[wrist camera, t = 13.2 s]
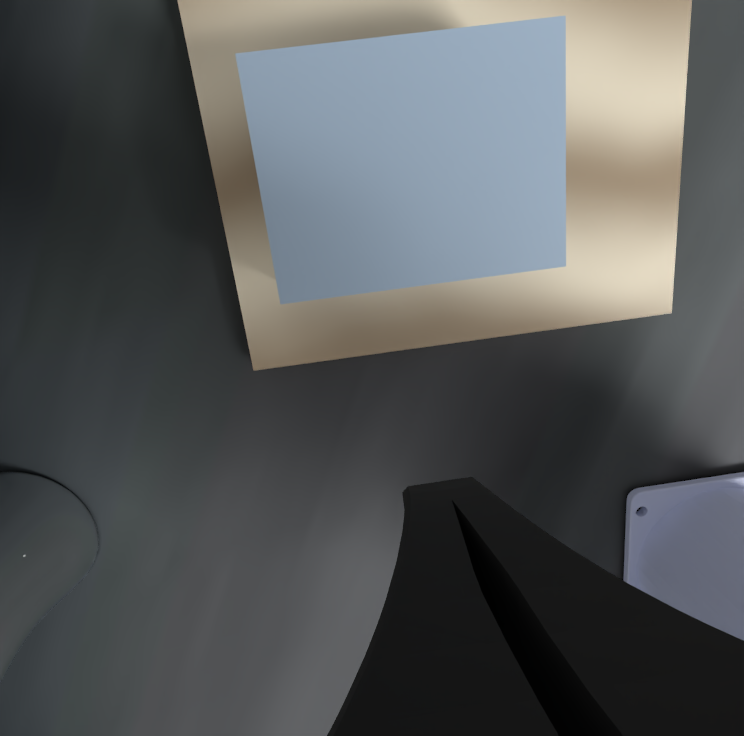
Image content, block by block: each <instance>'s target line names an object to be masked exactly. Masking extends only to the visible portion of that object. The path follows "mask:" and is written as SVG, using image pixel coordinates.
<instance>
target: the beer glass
mask: <svg viewBox="0 0 744 736" xmlns="http://www.w3.org/2000/svg"><path fill="white" fill-rule="evenodd" d="M98 545H99V540H98V532H97V528H96V525H95V522H94V520H93V518H92V516H91V514H90V513H89V511H88V510H87V508H86V507H85V506H84V504H83V503H82V502H81V501H80V500H79V499H78V498H77V497H76V496H75V495H74V494H73V493H71V492H70V491H69V490H67V489H66V488H64V487H63V486H61V485H59V484H57V483H56V482H53V481H51V480H49V479H47V478H44V477H41V476H38V475H34V474H29V473H24V472H0V684H1V682H2V680H3V678H4V676H5V675H6V673H7V671H8V669H9V667H10V666H11V664H12V662H13V660H14V658H15V656H16V655H17V653H18V651H19V650H20V648H21V647H22V645H23V644H24V642H25V641H26V639H27V638H28V636H29V635H30V633H31V632H32V631H33V629H34V628H35V627H36V626H37V625H38V623H39V622H40V621H41V620H42V619H43V618H44V617H45V616H46V614H47V613H48V612H49V611H50V610H51V609H52V608H54V607H55V606H56V605H57V604H58V603H59V602H60V601H61V600H62V599H63V598H64V597H66V596H67V595H68V594H69V593H70V592H71V591H72V590H73V589H74V588H75V587H76V586H77V585H78V584H79V583H80V582H81V581H82V580H83V579H84V578H85V577H86V575H87V574H88V573H89V571H90V570H91V568H92V566H93V564H94V562H95V559H96V556H97V553H98Z"/></svg>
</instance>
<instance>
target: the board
mask: <svg viewBox="0 0 744 736" xmlns="http://www.w3.org/2000/svg"><path fill="white" fill-rule="evenodd" d="M177 1H178V5H179V10H180V15H181V20H182V25H183V30H184V35H185V40H186V44H187V49H188V54H189V59H190V64H191V69H192V74H193V78H194V83H195V88H196V93H197V98H198V103H199V108H200V112H201V117H202V122H203V127H204V132H205V137H206V142H207V146H208V151H209V156H210V161H211V166H212V171H213V176H214V181H215V185H216V190H217V195H218V200H219V205H220V210H221V215H222V219H223V224H224V229H225V234H226V239H227V244H228V249H229V253H230V258H231V263H232V268H233V273H234V278H235V283H236V288H237V292H238V297H239V302H240V307H241V312H242V317H243V322H244V326H245V331H246V336H247V341H248V346H249V351H250V356H251V360H252V365H253V370H254V371H255V370H262V369H269V368H277V367H284V366H291V365H298V364H306V363H313V362H320V361H327V360H335V359H342V358H349V357H356V356H364V355H371V354H378V353H385V352H393V351H400V350H407V349H415V348H422V347H429V346H436V345H444V344H451V343H458V342H465V341H473V340H480V339H487V338H494V337H502V336H509V335H516V334H524V333H531V332H538V331H545V330H553V329H560V328H567V327H574V326H582V325H589V324H596V323H603V322H611V321H618V320H625V319H632V318H640V317H647V316H654V315H662V314H669V313H672V300H673V284H674V269H675V253H676V238H677V222H678V207H679V191H680V175H681V160H682V144H683V129H684V113H685V98H686V82H687V67H688V51H689V36H690V20H691V5H692V0H177ZM557 16H566V266H565V267H558V268H550V269H543V270H535V271H528V272H520V273H513V274H505V275H498V276H490V277H483V278H475V279H468V280H460V281H453V282H445V283H438V284H430V285H423V286H415V287H408V288H400V289H393V290H385V291H378V292H370V293H363V294H355V295H348V296H340V297H333V298H325V299H318V300H310V301H303V302H295V303H288V304H280V299H279V294H278V288H277V283H276V277H275V272H274V266H273V261H272V255H271V249H270V244H269V238H268V233H267V227H266V222H265V216H264V211H263V205H262V200H261V194H260V189H259V183H258V177H257V172H256V166H255V161H254V155H253V150H252V144H251V139H250V133H249V128H248V122H247V116H246V111H245V105H244V100H243V94H242V89H241V83H240V78H239V72H238V67H237V61H236V55H235V53H244V52H253V51H261V50H270V49H279V48H287V47H296V46H305V45H314V44H322V43H331V42H340V41H348V40H357V39H366V38H374V37H383V36H392V35H401V34H409V33H418V32H427V31H435V30H444V29H453V28H462V27H470V26H479V25H488V24H496V23H505V22H514V21H523V20H531V19H540V18H549V17H557Z"/></svg>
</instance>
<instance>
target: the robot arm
mask: <svg viewBox="0 0 744 736" xmlns="http://www.w3.org/2000/svg"><path fill="white" fill-rule="evenodd" d="M403 501H404V509H405V513H404V523H403V532H402V537H401V542H400V547H399V553H398V558H397V562H396V566H395V569H394V573H393V576H392V580H391V584H390V587H389V591H388V594H387V598H386V601H385V604H384V607H383V610H382V613H381V616H380V619H379V621H378V624H377V627H376V630H375V632H374V635H373V637H372V640H371V642H370V645H369V647H368V650H367V652H366V655H365V657H364V659H363V662H362V664H361V666H360V668H359V671H358V673H357V675H356V677H355V680H354V682H353V684H352V686H351V688H350V691H349V693H348V695H347V697H346V699H345V701H344V703H343V706H342V708H341V710H340V712H339V714H338V716H337V718H336V720H335V722H334V724H333V726H332V728H331V730H330V731H329V733H328V735H327V736H744V472H740V473H734V474H727V475H720V476H714V477H707V478H700V479H694V480H687V481H680V482H674V483H667V484H660V485H654V486H647V487H640V488H636V489H633V490H632V491H631V492H630V493H629V494H628V496H627V505H626V529H625V554H624V578H623V580H621V579H619V578H618V577H616V576H614V575H612V574H611V573H609V572H607V571H605V570H604V569H602V568H601V567H599V566H597V565H596V564H594V563H592V562H591V561H589V560H588V559H586V558H584V557H583V556H581V555H580V554H578V553H576V552H575V551H573V550H572V549H570V548H568V547H567V546H565V545H564V544H562V543H561V542H559V541H558V540H556V539H555V538H553V537H552V536H550V535H549V534H548V533H546V532H545V531H543V530H542V529H540V528H539V527H537V526H536V525H535V524H533V523H532V522H530V521H529V520H528V519H526V518H525V517H524V516H522V515H521V514H519V513H518V512H517V511H515V510H514V509H513V508H511V507H510V506H509V505H508V504H506V503H505V502H504V501H502V500H501V499H500V498H498V497H497V496H496V495H494V494H493V493H492V492H491V491H489V490H488V489H487V488H485V487H484V486H483V485H482V484H480V483H479V482H478V481H476V480H475V479H474V478H472V477H468V478H461V479H455V480H448V481H441V482H434V483H427V484H421V485H414V486H408V487H407V488H406V489H405V490H404V492H403ZM639 507H642V508H641V509H640V510H639V511H637V509H638V508H639ZM636 511H637V512H636Z"/></svg>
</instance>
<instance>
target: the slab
mask: <svg viewBox="0 0 744 736" xmlns="http://www.w3.org/2000/svg"><path fill="white" fill-rule="evenodd" d="M235 55H236V61H237V67H238V72H239V78H240V83H241V89H242V94H243V100H244V105H245V111H246V116H247V122H248V128H249V133H250V139H251V144H252V150H253V155H254V161H255V166H256V172H257V177H258V183H259V189H260V194H261V200H262V205H263V211H264V216H265V222H266V227H267V233H268V238H269V244H270V249H271V255H272V261H273V266H274V272H275V277H276V283H277V288H278V294H279V299H280V304H288V303H295V302H303V301H310V300H318V299H325V298H333V297H340V296H348V295H355V294H363V293H370V292H378V291H385V290H393V289H400V288H408V287H415V286H423V285H430V284H438V283H445V282H453V281H460V280H468V279H475V278H483V277H490V276H498V275H505V274H513V273H520V272H528V271H535V270H543V269H550V268H558V267H565V266H566V16H557V17H549V18H540V19H531V20H523V21H514V22H505V23H496V24H488V25H479V26H470V27H462V28H453V29H444V30H435V31H427V32H418V33H409V34H401V35H392V36H383V37H374V38H366V39H357V40H348V41H340V42H331V43H322V44H314V45H305V46H296V47H287V48H279V49H270V50H261V51H253V52H244V53H235Z"/></svg>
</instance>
